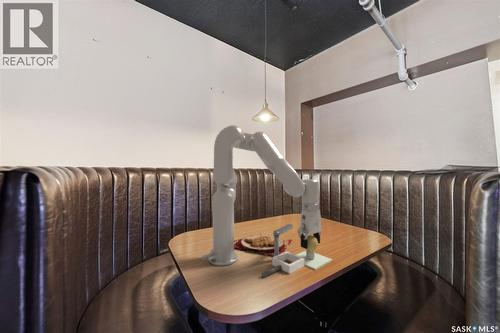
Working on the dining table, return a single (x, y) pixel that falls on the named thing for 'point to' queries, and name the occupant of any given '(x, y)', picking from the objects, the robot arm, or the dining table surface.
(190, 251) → the dining table surface
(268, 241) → the plate with food
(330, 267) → the dining table surface
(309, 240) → the light bulb
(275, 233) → the silver metal bar
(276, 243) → the white handled box
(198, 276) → the dining table surface
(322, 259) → the mat
